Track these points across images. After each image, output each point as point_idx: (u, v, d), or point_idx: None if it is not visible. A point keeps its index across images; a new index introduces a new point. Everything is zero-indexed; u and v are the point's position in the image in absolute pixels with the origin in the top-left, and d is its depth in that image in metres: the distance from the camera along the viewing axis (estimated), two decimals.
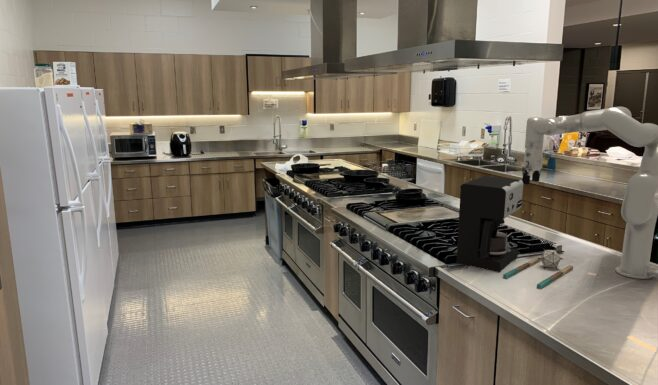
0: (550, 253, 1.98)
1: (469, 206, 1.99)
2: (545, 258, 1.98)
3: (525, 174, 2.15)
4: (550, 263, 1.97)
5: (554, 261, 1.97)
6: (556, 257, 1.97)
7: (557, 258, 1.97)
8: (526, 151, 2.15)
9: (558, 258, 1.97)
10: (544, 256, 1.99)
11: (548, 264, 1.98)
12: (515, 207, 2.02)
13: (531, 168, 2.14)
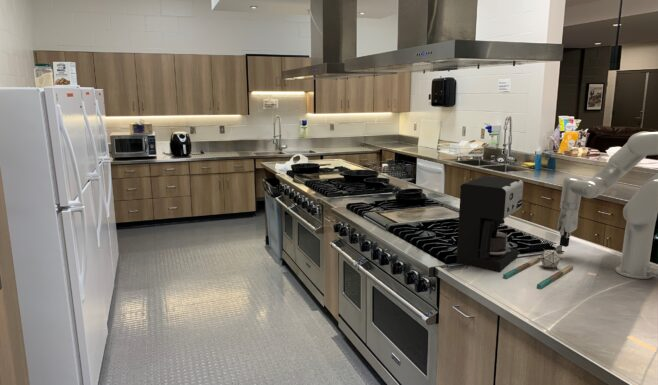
0: (550, 253, 1.98)
1: (469, 206, 1.99)
2: (545, 258, 1.98)
3: (563, 236, 2.09)
4: (550, 263, 1.97)
5: (554, 261, 1.97)
6: (556, 257, 1.97)
7: (557, 258, 1.97)
8: (562, 212, 2.05)
9: (558, 258, 1.97)
10: (544, 256, 1.99)
11: (548, 264, 1.98)
12: (515, 207, 2.02)
13: (566, 230, 2.04)
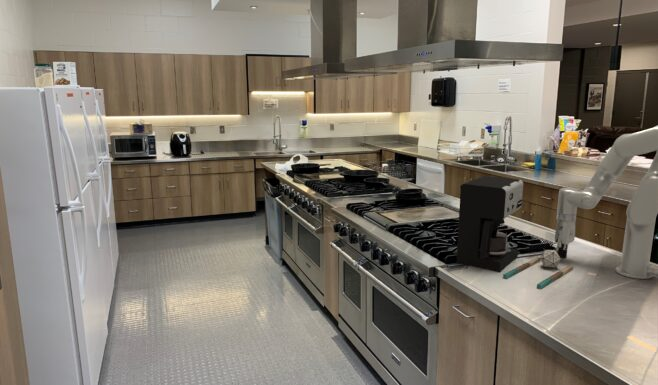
0: (550, 253, 1.98)
1: (469, 206, 1.99)
2: (545, 258, 1.98)
3: (561, 248, 2.07)
4: (550, 263, 1.97)
5: (554, 261, 1.97)
6: (556, 257, 1.97)
7: (557, 258, 1.97)
8: (558, 223, 2.04)
9: (558, 258, 1.97)
10: (544, 256, 1.99)
11: (548, 264, 1.98)
12: (515, 207, 2.02)
13: (563, 242, 2.03)
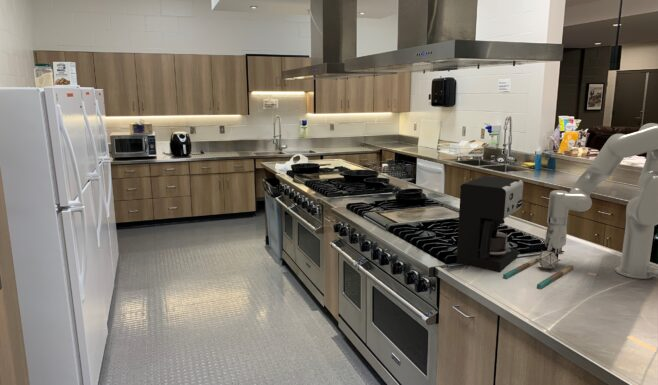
0: (547, 254, 1.96)
1: (469, 206, 1.99)
2: (542, 259, 1.97)
3: None
4: (547, 264, 1.96)
5: (552, 262, 1.95)
6: (553, 258, 1.96)
7: (554, 259, 1.96)
8: (549, 227, 1.98)
9: (555, 259, 1.96)
10: (541, 257, 1.97)
11: (545, 265, 1.97)
12: (515, 207, 2.02)
13: (554, 246, 1.97)
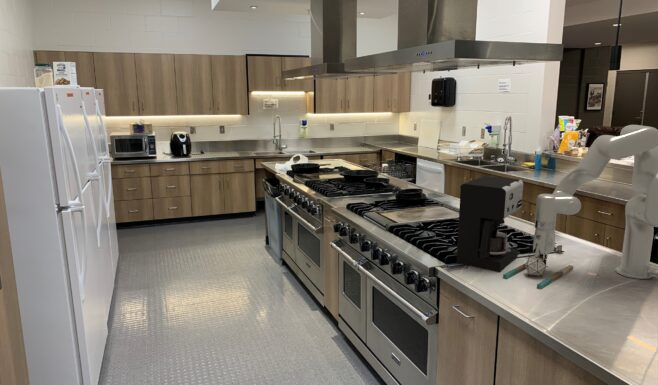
0: (534, 261, 1.89)
1: (469, 206, 1.99)
2: (529, 266, 1.89)
3: None
4: (534, 271, 1.89)
5: (539, 269, 1.88)
6: (541, 265, 1.88)
7: (541, 266, 1.88)
8: (536, 232, 1.90)
9: (543, 266, 1.88)
10: (528, 263, 1.90)
11: (532, 272, 1.89)
12: (515, 207, 2.02)
13: (542, 252, 1.89)
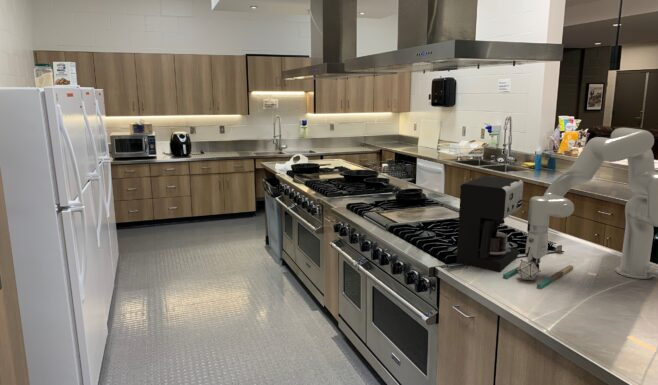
0: (527, 265, 1.84)
1: (469, 206, 1.99)
2: (522, 270, 1.85)
3: None
4: (527, 275, 1.84)
5: (532, 273, 1.83)
6: (534, 269, 1.84)
7: (534, 270, 1.84)
8: (529, 236, 1.86)
9: (536, 270, 1.84)
10: (521, 268, 1.85)
11: (525, 276, 1.85)
12: (515, 207, 2.02)
13: (534, 256, 1.85)
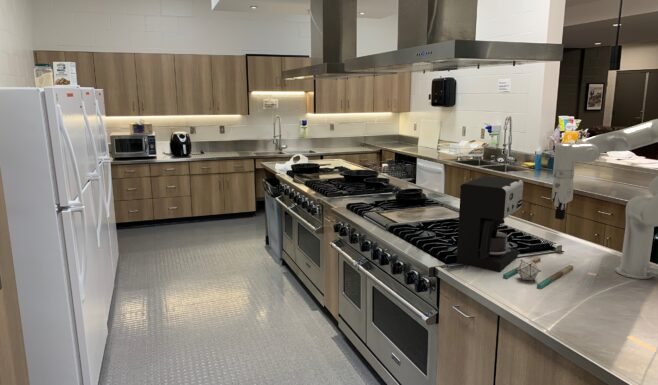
0: (527, 265, 1.84)
1: (469, 206, 1.99)
2: (522, 270, 1.85)
3: (559, 208, 1.93)
4: (527, 275, 1.84)
5: (532, 273, 1.83)
6: (534, 269, 1.84)
7: (534, 270, 1.84)
8: (555, 181, 1.90)
9: (536, 270, 1.84)
10: (521, 268, 1.85)
11: (525, 276, 1.85)
12: (515, 207, 2.02)
13: (561, 200, 1.89)
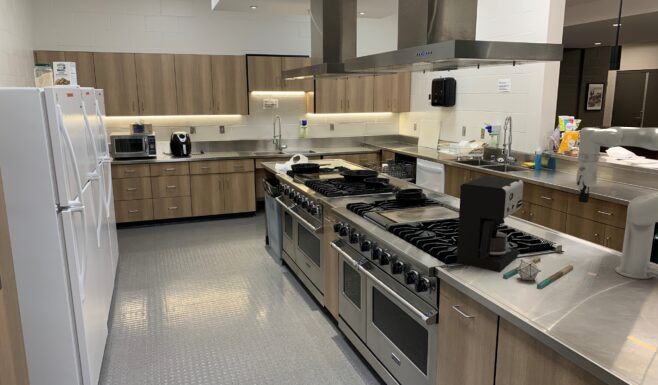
0: (527, 265, 1.84)
1: (469, 206, 1.99)
2: (522, 270, 1.85)
3: (583, 192, 1.98)
4: (527, 275, 1.84)
5: (532, 273, 1.83)
6: (534, 269, 1.84)
7: (534, 270, 1.84)
8: (580, 165, 1.95)
9: (536, 270, 1.84)
10: (521, 268, 1.85)
11: (525, 276, 1.85)
12: (515, 207, 2.02)
13: (586, 184, 1.93)
